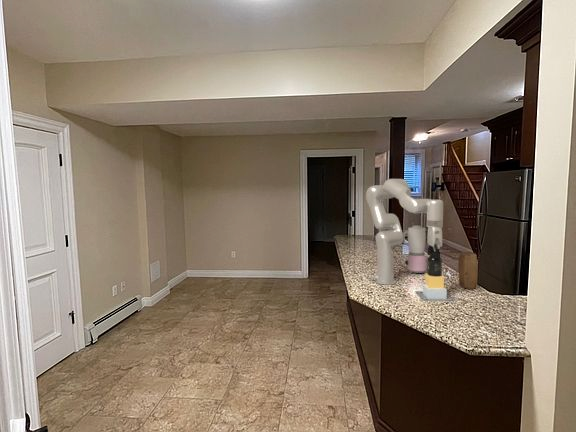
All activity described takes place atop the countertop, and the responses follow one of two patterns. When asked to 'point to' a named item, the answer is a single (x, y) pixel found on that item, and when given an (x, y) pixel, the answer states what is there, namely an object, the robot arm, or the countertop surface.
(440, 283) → the yellow cube
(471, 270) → the block
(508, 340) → the countertop surface
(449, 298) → the building plate
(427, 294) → the grey brick
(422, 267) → the blender
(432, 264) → the supplement bottle
